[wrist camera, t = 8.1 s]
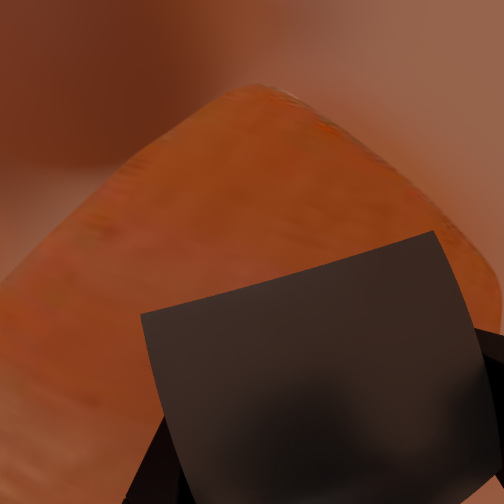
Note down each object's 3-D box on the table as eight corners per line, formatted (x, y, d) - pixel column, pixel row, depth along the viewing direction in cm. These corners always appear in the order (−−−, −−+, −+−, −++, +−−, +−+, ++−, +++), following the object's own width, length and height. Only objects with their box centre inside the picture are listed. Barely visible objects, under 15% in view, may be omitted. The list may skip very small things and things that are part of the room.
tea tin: (368, 431, 12) (502, 467, 4) (243, 475, 11) (242, 594, 3) (331, 316, 15) (433, 230, 6) (204, 354, 14) (140, 314, 5)
